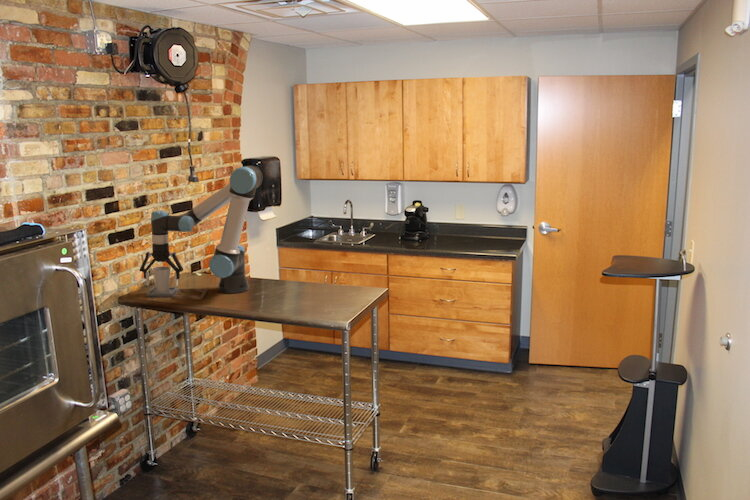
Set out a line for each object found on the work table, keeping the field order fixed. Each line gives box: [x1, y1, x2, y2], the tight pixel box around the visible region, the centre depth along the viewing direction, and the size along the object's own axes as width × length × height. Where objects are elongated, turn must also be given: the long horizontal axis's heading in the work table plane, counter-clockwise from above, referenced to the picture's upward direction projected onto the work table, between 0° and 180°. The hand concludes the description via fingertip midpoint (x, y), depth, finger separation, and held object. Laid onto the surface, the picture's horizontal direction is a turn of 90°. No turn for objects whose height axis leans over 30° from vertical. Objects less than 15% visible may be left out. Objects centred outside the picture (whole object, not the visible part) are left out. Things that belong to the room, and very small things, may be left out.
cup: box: [152, 265, 171, 293], centre depth 298 cm, size 8×8×12 cm
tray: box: [146, 286, 179, 298], centre depth 299 cm, size 12×12×2 cm
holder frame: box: [172, 288, 208, 300], centre depth 298 cm, size 14×14×2 cm
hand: (162, 285), depth 299 cm, fingers open, 13 cm apart
